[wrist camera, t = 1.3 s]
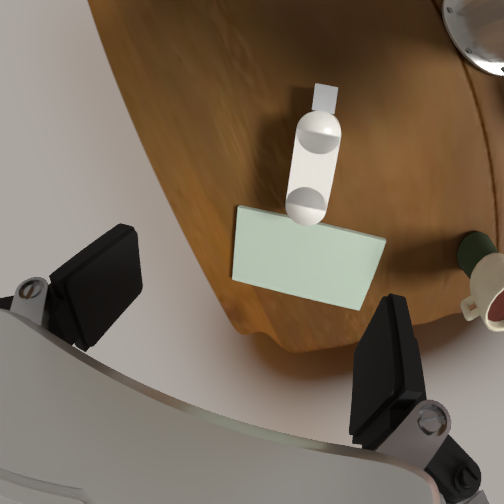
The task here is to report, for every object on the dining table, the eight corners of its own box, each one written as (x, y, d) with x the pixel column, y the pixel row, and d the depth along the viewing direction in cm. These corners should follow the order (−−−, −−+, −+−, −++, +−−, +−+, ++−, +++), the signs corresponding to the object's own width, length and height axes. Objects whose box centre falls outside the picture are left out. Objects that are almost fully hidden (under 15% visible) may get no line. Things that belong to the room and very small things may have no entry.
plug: (346, 91, 27) (348, 88, 22) (324, 210, 35) (321, 229, 31) (308, 83, 28) (302, 79, 23) (291, 202, 36) (282, 220, 31)
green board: (385, 238, 35) (386, 241, 34) (359, 307, 41) (359, 310, 40) (239, 205, 39) (237, 207, 38) (233, 276, 45) (232, 279, 44)
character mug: (451, 285, 35) (475, 349, 24) (435, 250, 33) (463, 312, 22) (506, 249, 29) (545, 303, 18) (493, 210, 28) (540, 259, 17)
